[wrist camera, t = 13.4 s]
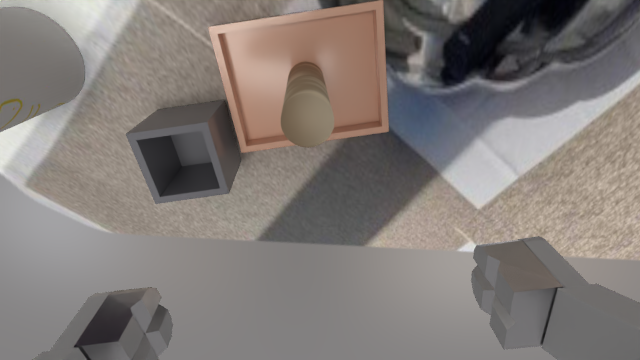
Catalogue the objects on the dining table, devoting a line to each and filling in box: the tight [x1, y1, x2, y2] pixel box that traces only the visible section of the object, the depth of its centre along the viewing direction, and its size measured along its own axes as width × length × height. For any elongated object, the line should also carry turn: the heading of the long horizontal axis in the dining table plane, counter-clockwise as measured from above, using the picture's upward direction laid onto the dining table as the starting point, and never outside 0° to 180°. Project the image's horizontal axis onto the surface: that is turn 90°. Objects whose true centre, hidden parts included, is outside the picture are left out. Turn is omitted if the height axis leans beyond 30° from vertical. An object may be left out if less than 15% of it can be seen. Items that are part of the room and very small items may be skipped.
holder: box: [126, 100, 241, 204], centre depth 31 cm, size 6×6×7 cm
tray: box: [208, 0, 389, 153], centre depth 31 cm, size 14×11×2 cm
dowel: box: [281, 62, 334, 147], centre depth 26 cm, size 3×3×12 cm
